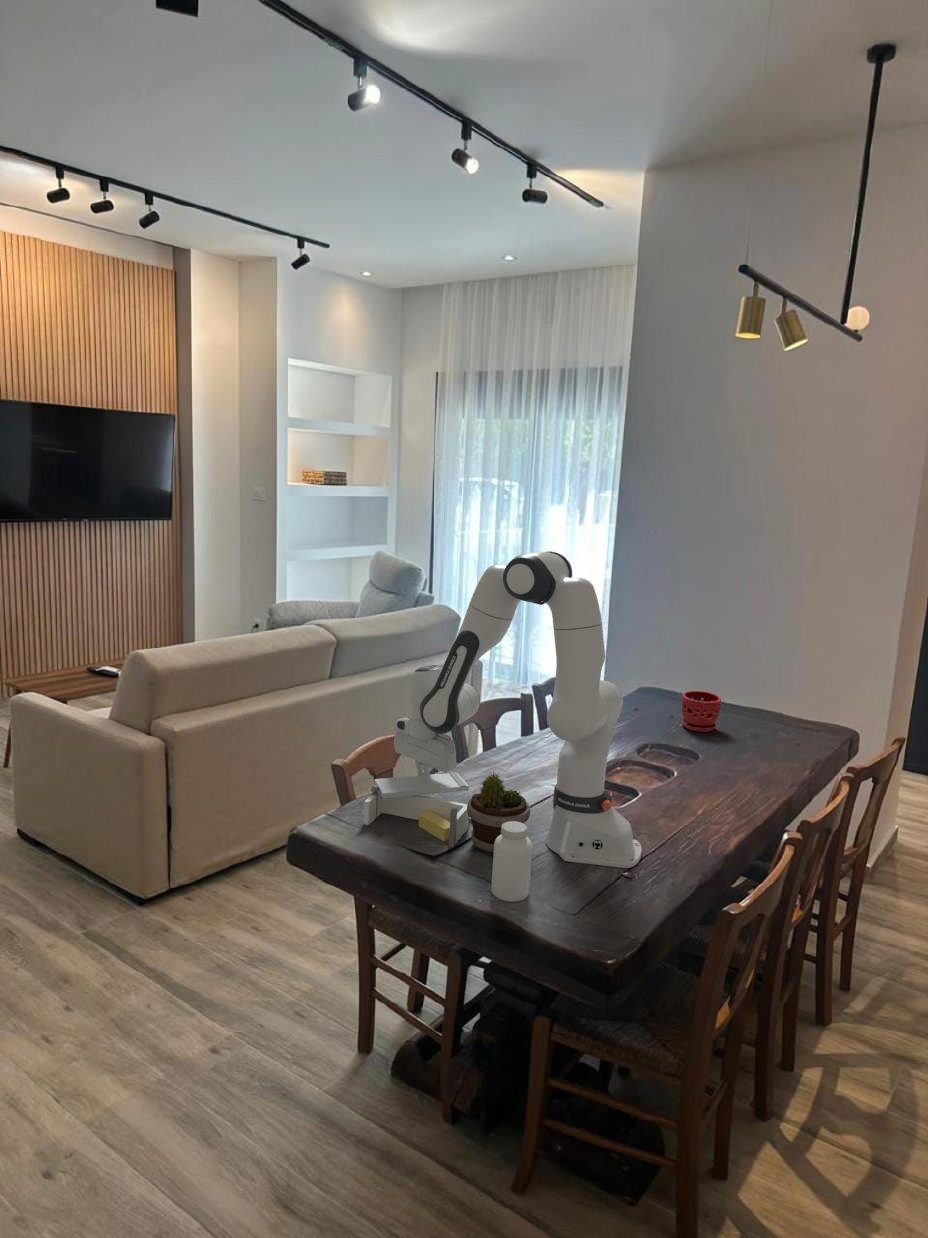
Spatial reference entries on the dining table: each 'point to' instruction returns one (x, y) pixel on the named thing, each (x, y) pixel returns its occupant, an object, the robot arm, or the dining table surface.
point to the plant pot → (700, 710)
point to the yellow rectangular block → (435, 825)
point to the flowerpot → (494, 812)
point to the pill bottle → (512, 862)
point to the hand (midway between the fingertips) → (423, 778)
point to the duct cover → (419, 785)
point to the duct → (419, 811)
